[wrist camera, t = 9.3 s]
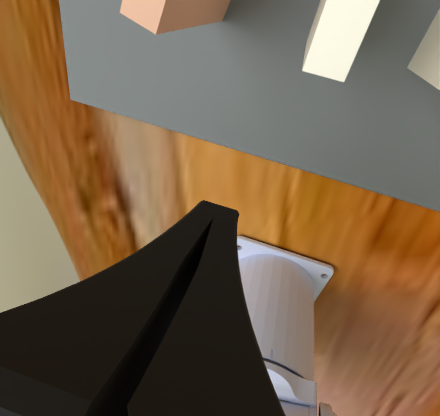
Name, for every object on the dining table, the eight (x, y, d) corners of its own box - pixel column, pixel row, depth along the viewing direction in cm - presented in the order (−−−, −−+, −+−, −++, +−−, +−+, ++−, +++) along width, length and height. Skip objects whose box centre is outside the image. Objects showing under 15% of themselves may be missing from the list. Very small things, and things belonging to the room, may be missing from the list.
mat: (594, 255, 17) (599, 260, 17) (74, 98, 20) (70, 99, 20) (1117, -106, 8) (1150, -110, 8) (31, -298, 11) (23, -307, 11)
